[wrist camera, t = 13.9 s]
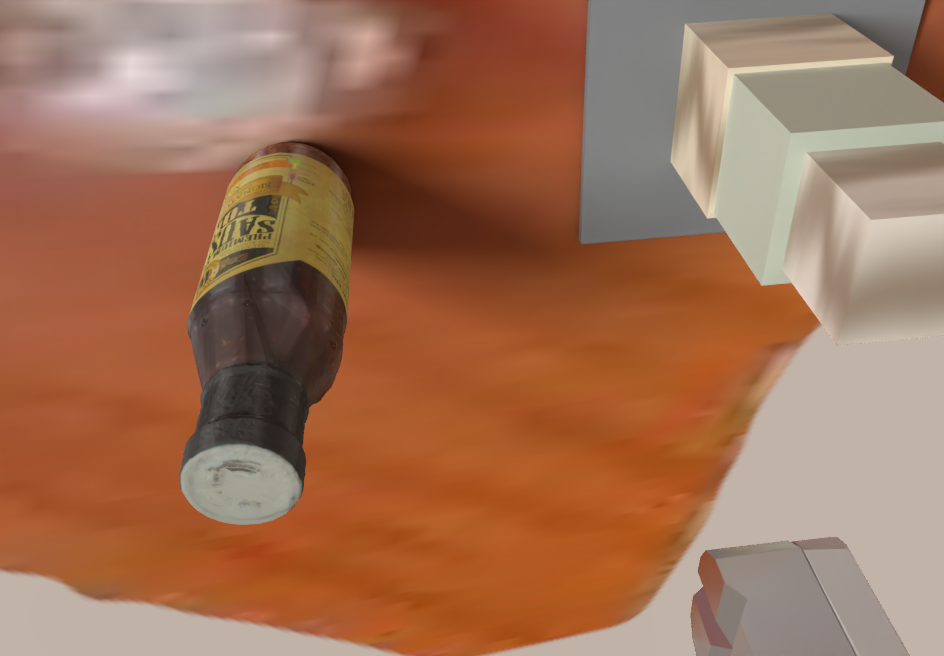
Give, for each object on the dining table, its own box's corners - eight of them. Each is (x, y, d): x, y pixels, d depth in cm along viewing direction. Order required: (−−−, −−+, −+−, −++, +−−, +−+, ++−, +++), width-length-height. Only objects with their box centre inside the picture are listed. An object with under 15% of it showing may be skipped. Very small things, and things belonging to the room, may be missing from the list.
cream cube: (806, 152, 31) (871, 219, 27) (939, 141, 31) (1023, 207, 27) (782, 269, 34) (837, 345, 30) (903, 258, 34) (974, 332, 30)
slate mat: (591, -78, 38) (594, -75, 37) (944, -101, 38) (951, -98, 38) (578, 238, 47) (580, 244, 47) (861, 214, 48) (866, 220, 47)
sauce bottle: (274, 110, 41) (215, 371, 25) (379, 183, 44) (385, 460, 28) (202, 206, 44) (108, 498, 28) (305, 269, 47) (273, 567, 31)
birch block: (685, 23, 40) (728, 68, 35) (831, 13, 40) (893, 56, 36) (670, 161, 44) (707, 218, 39) (803, 151, 45) (855, 206, 40)
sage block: (733, 73, 35) (790, 133, 31) (886, 62, 36) (967, 119, 31) (713, 213, 39) (761, 285, 34) (851, 201, 40) (918, 271, 35)
